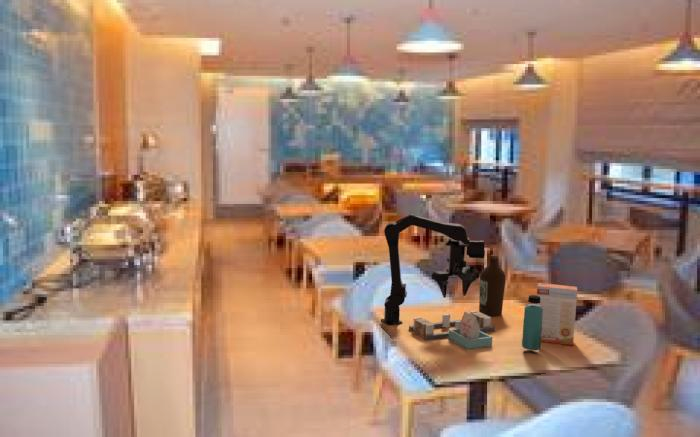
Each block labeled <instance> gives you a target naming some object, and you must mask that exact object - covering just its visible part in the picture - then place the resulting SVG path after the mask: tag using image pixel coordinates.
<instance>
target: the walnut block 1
mask: <svg viewBox="0 0 700 437" xmlns="http://www.w3.org/2000/svg"><path fill="white" fill-rule="evenodd" d="M433 323H434V322H431V321H429V320H427V319H426V318H422V319H418V320H415V331H413V332H414V333H415V334H417V335H418V336H420V337H421V338H424V335H426V325H428V324H433Z"/></svg>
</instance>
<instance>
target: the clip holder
mask: <svg viewBox="0 0 700 437" xmlns="http://www.w3.org/2000/svg"><path fill="white" fill-rule="evenodd" d="M478 312H479V310H478V311H477V310H472V311H469V314H472V313H478ZM418 319H423V318H422V317H420V316H419V317H414V318H413V324H412V325H409V326H408V330H409V331H410V332H414V331H415V320H418ZM441 319H442V321H439V322H432V323H433V324H428V325H426V335H424V337H423V339H424V340H426V341H431V340H432V341H433V340H437V339H438V340H439V339H446V338H445V337H447V338H449V331H445V332H438V333H434V332H435V329H437V328H439V327H440V328H442V327H446V328H450V327H453V326H452V325H455V326H454V329H459V328H460V322H461V320H462V319H454V320H451V314H450V313H446V314H442V318H441ZM480 331H481V332H483V333H491V332H496V326H493V325H492V316H489V317H486V318H484V320H483V327H482V328H480Z"/></svg>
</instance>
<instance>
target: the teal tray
mask: <svg viewBox="0 0 700 437" xmlns="http://www.w3.org/2000/svg"><path fill="white" fill-rule="evenodd" d="M448 332H449V337H447V338H448V339H447V340H449V339H450V341H451V342H453V343H455V344H457V345H458V344H459V346H460V347H462V348H463V349H466V350H467V351H470V350H475V349H484V348H491V347H492V346H493V336H491V335H489V334H487V333H486V332H484V333H483V332H481V331H479V338H477V339H470V340H469V339H467V338H465V337H464V336H462V335H460V334H459V333H460V328H459V329H455V328H452V329H448Z"/></svg>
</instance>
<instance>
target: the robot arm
mask: <svg viewBox="0 0 700 437" xmlns="http://www.w3.org/2000/svg"><path fill="white" fill-rule="evenodd" d="M412 226H415V227H418V228H422V229H425V230H428V231H433V232H436V233H438V234H442V235H444V236H446V238H447V237H448V240H447V241H444V242H445V247H447V246H449V253H448V254H449V257H448V258H446V261H447V263H448V268H447V269H446V272H444V271H442V270H438V271H437V270H436V271H433V272H432V273H431V279H432V280H434V281H435V282H436V283H437V284H438V287H439V289H440V293H441V295H442V298H444V299H446V297H447V288H448V284H449V281H448V280H449V279H450V278H459V280H461V287H462V288H461V289H462V296H463V297H465V296H467V293H468V291H469V288H470V286H471V284H472V283H474V282H475V281H477V279H480V272H479V271H478V270H477V267H476V266H475V265H471V266H468V265H467V260H465V254H466V256H468V258H469V259H478V260H479V259H480V260H482V259H483V260H484V259H485V254H486V251H485V241H484V240H470V237H468V235H467V231H466V230H467V229H466V228H465V226H464V225H463V224H461V223H453V222H442V221H441V222H440V221H438V220H434V219H430V218H426V217H424V216H421V215H416V214H414V213H409V214H408V215H406V216H404V217H402V218H401V219H398V220H396V221H389V222H388V223H386V225H385V227H384V230H383V231H384V232H383V233H384V236H385V240H386V243H387V247H388V254H389V263H390V264H389V266H390V276H391V285H390V295H388V296H387V297H385V301H384V314H383V316H384V317H383V318H381V319H380V321H381V322H383V323H384V324H387V325H388V326H389V325H390V326H391V325H392V326H393V325H398V324H399V325H400V324H403V321H402V320H400V312H401V309H400V306H402V305H403V304H404V302H405V299H406V298H407V295H408V292H407V284H406V283H403V281H402V274H401V261H400V260H401V259H400V248H399V241H400V234H401V232H403V231H405V230H406V229H408V228H409V227H412ZM461 242H462V243H461ZM465 250H466V251H465ZM465 252H466V253H465Z"/></svg>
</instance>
